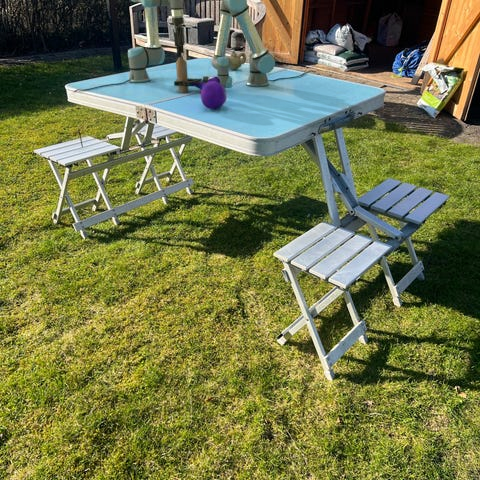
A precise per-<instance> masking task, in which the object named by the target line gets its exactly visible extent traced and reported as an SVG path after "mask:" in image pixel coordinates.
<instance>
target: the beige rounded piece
mask: <svg viewBox="0 0 480 480" xmlns="http://www.w3.org/2000/svg"><path fill="white" fill-rule="evenodd" d="M226 57H227V58H228V62H229V71H238V70H239V69H240V68H241V67H242V65H244V64H245V63H246V61H247V56H246V53H245V52H243V51H242V52H239V54H237V53H236V52H235V50H232V51H231V54H230V56H226ZM241 58H242V59H241Z"/></svg>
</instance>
